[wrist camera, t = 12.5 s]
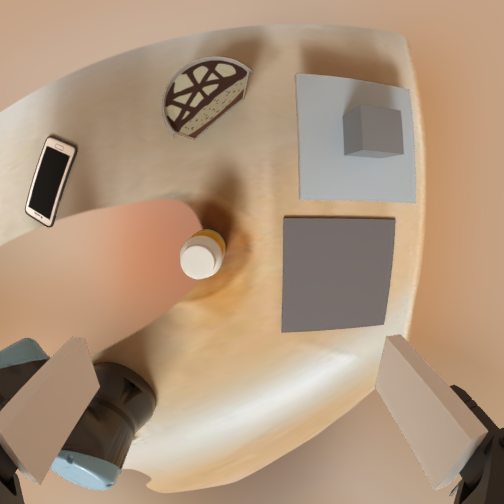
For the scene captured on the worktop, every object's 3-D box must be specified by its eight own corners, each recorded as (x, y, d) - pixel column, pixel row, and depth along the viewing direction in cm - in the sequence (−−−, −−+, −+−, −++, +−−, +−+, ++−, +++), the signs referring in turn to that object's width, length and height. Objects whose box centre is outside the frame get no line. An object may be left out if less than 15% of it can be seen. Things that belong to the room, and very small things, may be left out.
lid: (298, 199, 35) (311, 202, 28) (294, 76, 31) (305, 53, 24) (410, 202, 35) (441, 207, 28) (405, 91, 31) (432, 77, 24)
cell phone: (80, 147, 39) (77, 147, 38) (53, 228, 41) (50, 229, 40) (50, 135, 38) (47, 134, 37) (26, 212, 40) (23, 212, 39)
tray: (281, 331, 45) (281, 332, 45) (283, 218, 42) (283, 218, 41) (382, 323, 46) (383, 324, 45) (394, 219, 42) (395, 219, 41)
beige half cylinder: (224, 66, 36) (219, 35, 27) (251, 92, 37) (253, 66, 28) (161, 119, 38) (137, 100, 28) (187, 146, 39) (169, 134, 29)
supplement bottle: (222, 267, 43) (216, 289, 34) (187, 260, 43) (171, 280, 33) (229, 232, 42) (224, 244, 32) (192, 225, 41) (178, 236, 32)
